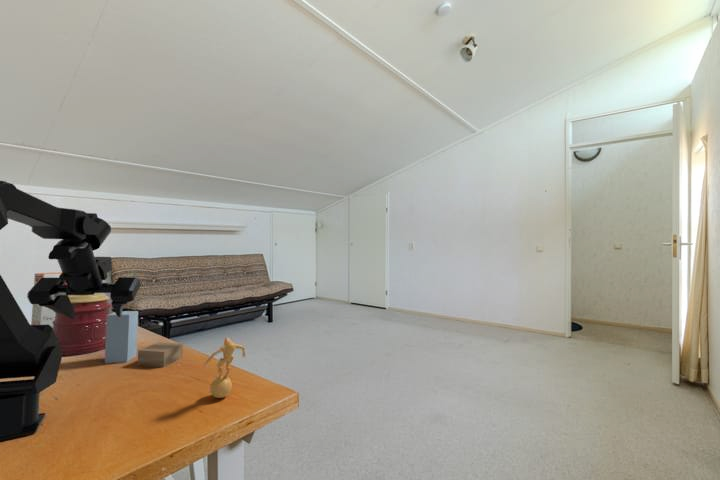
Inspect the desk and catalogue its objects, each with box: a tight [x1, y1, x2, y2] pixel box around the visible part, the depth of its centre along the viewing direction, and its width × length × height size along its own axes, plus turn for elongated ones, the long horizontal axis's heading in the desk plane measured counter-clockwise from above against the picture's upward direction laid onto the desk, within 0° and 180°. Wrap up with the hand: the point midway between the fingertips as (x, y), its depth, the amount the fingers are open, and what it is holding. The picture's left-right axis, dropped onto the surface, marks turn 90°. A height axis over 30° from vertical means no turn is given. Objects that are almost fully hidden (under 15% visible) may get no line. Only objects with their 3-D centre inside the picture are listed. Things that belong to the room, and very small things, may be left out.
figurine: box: [203, 337, 246, 399], centre depth 63 cm, size 8×6×12 cm
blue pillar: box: [104, 310, 139, 364], centre depth 83 cm, size 5×5×12 cm
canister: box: [52, 293, 113, 356], centre depth 91 cm, size 13×13×18 cm
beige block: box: [137, 341, 184, 368], centre depth 82 cm, size 7×7×4 cm
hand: (97, 316), depth 75 cm, fingers open, 9 cm apart
